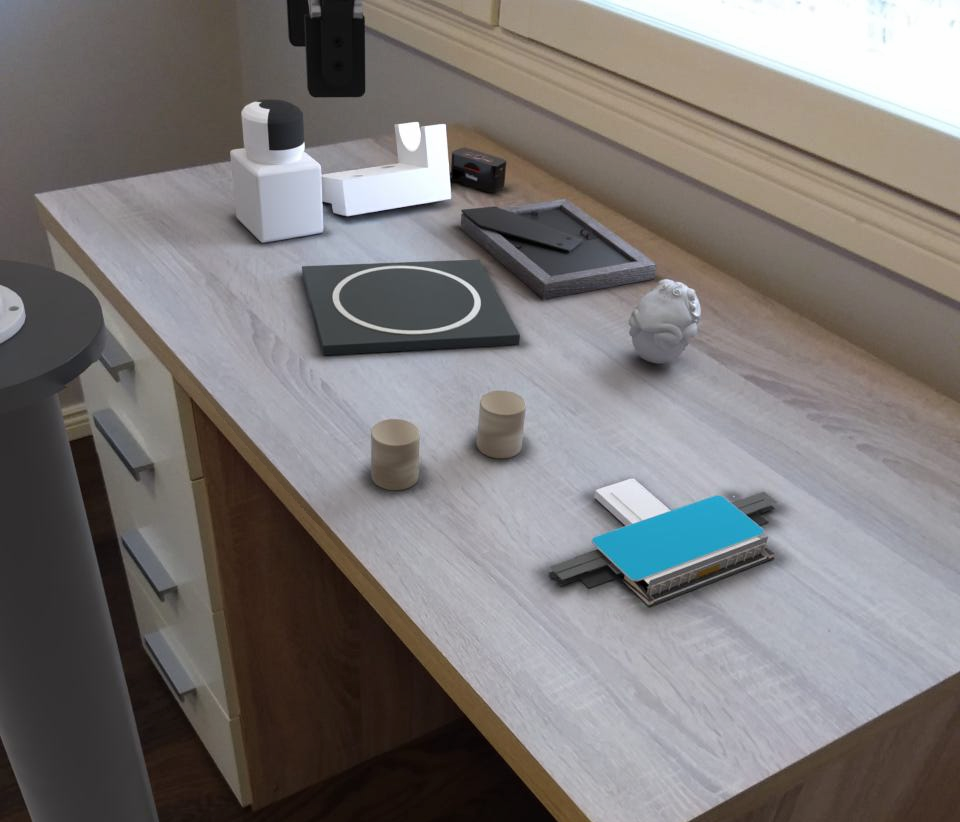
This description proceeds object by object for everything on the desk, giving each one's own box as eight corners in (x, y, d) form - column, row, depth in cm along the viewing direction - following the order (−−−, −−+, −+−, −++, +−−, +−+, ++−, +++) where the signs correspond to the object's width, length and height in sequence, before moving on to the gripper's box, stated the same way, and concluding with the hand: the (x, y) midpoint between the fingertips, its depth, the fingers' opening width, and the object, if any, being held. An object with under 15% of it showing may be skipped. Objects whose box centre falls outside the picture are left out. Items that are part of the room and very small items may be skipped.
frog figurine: (705, 358, 97) (722, 286, 92) (661, 384, 93) (677, 310, 89) (651, 334, 100) (665, 263, 95) (607, 358, 96) (619, 285, 91)
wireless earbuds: (456, 173, 127) (457, 144, 124) (506, 189, 124) (508, 160, 122) (433, 183, 124) (434, 155, 121) (484, 200, 121) (486, 171, 119)
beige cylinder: (482, 460, 83) (486, 416, 80) (472, 435, 85) (475, 391, 83) (526, 456, 84) (531, 413, 81) (514, 432, 86) (519, 388, 83)
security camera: (296, 208, 116) (290, 90, 108) (324, 233, 112) (320, 112, 103) (235, 218, 113) (223, 97, 105) (261, 244, 109) (251, 121, 100)
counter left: (375, 492, 79) (375, 447, 76) (367, 465, 81) (367, 420, 79) (422, 488, 80) (424, 443, 77) (413, 461, 82) (414, 417, 79)
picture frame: (460, 227, 115) (543, 299, 104) (461, 209, 114) (545, 279, 103) (564, 212, 120) (654, 278, 109) (566, 194, 119) (657, 260, 108)
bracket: (421, 193, 124) (414, 121, 120) (451, 198, 118) (445, 124, 115) (319, 209, 118) (309, 135, 114) (346, 216, 113) (336, 138, 109)
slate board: (323, 355, 93) (322, 344, 92) (302, 275, 104) (301, 264, 103) (519, 344, 97) (520, 333, 96) (478, 268, 108) (479, 257, 107)
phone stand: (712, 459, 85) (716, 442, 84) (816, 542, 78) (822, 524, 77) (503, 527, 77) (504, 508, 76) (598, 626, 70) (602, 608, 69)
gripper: (222, -332, 56) (249, 28, 68) (248, -315, 44) (275, 119, 56) (361, -321, 58) (364, 29, 70) (423, -301, 46) (414, 117, 58)
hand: (325, 69), depth 63 cm, fingers open, 9 cm apart
